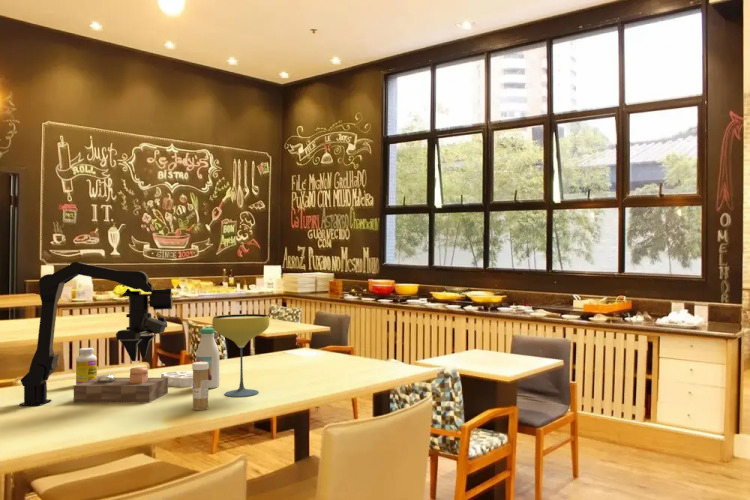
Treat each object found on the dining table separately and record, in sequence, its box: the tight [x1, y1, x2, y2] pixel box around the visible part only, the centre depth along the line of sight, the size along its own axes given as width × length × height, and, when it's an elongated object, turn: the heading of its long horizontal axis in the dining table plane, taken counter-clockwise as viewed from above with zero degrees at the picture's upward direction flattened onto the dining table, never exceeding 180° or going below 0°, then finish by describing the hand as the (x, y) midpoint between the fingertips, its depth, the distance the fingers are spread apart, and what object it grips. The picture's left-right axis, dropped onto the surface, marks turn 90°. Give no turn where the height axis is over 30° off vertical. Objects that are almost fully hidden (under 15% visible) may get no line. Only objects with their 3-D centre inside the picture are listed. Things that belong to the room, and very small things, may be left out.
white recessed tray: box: [160, 370, 193, 388], centre depth 220 cm, size 3×18×15 cm
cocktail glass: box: [211, 313, 270, 398], centre depth 199 cm, size 18×18×25 cm
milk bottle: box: [195, 327, 221, 389], centre depth 211 cm, size 8×8×20 cm
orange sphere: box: [129, 366, 149, 383], centre depth 195 cm, size 5×5×5 cm
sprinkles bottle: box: [191, 361, 209, 411], centre depth 178 cm, size 5×5×13 cm
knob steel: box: [96, 374, 115, 383], centre depth 196 cm, size 5×5×5 cm
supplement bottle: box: [75, 347, 98, 385], centre depth 217 cm, size 7×7×13 cm
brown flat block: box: [73, 377, 169, 403], centre depth 195 cm, size 14×24×5 cm, turn 86°
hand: (138, 359), depth 195 cm, fingers open, 7 cm apart
